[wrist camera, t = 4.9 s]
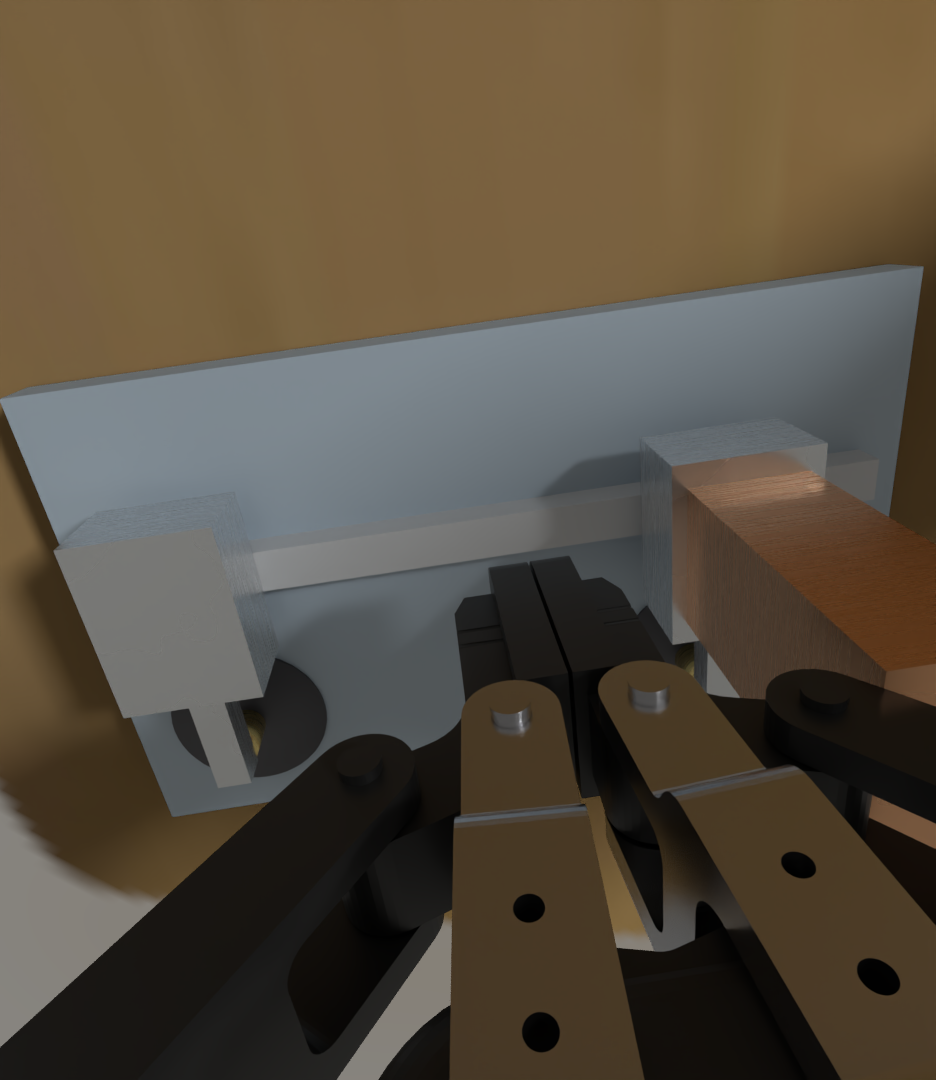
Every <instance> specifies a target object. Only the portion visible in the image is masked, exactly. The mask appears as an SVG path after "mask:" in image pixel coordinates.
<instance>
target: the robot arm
mask: <svg viewBox="0 0 936 1080" xmlns="http://www.w3.org/2000/svg"><path fill="white" fill-rule="evenodd" d="M488 574H489V583H490V591H491V594H487V595H480V596H473V597H466V598H464V599H463V600H462V602H461V604H460V606H459V607H458V609H457V611H456V612H455V614H454V615H455V623H456V631H457V639H458V646H459V655H460V663H461V671H462V679H463V687H464V695H465V704H464V706H463V709H462V714H461V719H460V721H459V722H458V723H457V725H456V726H455V727H454V728H453V729H452V730H451V731H449V732H448V733H447V734H446V735H444V736H443V737H441V738H439V739H438V740H436V741H434V742H432V743H429V744H427V745H425V746H422V747H420V748H417V749H415V750H411V748H410V747H409V746H408V745H407V744H406V743H405V742H403V741H402V740H400V739H398V738H396V737H394V736H390V735H386V734H365V735H359V736H355V737H352V738H349V739H346V740H344V741H342V742H340V743H338V744H336V745H334V746H333V747H331V748H329V749H328V750H327V751H326V752H324V753H323V754H322V755H321V756H320V757H319V758H318V759H317V760H315V761H314V762H313V763H312V764H311V765H310V766H309V767H308V768H307V769H306V770H304V771H303V772H302V773H301V774H300V775H299V776H298V777H297V778H296V779H295V780H293V781H292V782H291V783H290V784H289V785H288V786H287V787H286V788H285V789H284V790H282V791H281V792H280V793H279V794H278V795H277V796H276V797H275V798H274V799H273V800H271V801H270V802H269V803H268V804H267V805H266V806H265V807H264V808H263V809H262V810H261V811H259V812H258V813H257V814H256V815H255V816H254V817H253V818H252V819H251V820H250V821H248V822H247V823H246V824H245V825H244V826H243V827H242V828H241V829H240V830H239V831H237V832H236V833H235V834H234V835H233V836H232V837H231V838H230V839H229V840H228V841H226V842H225V843H224V844H223V845H222V846H221V847H220V848H219V849H218V850H217V851H215V852H214V853H213V854H212V855H211V856H210V857H209V858H208V859H207V860H206V861H204V862H203V863H202V864H201V865H200V866H199V867H198V868H197V869H196V870H195V871H194V872H192V873H191V874H190V875H189V876H188V877H187V878H186V879H185V880H184V881H183V882H181V883H180V884H179V885H178V886H177V887H176V888H175V889H174V890H173V891H172V892H170V893H169V894H168V895H167V896H166V897H165V898H164V899H163V900H162V901H161V902H159V903H158V904H157V905H156V906H155V907H154V908H153V909H152V910H151V911H150V912H148V913H147V914H146V915H145V916H144V917H143V918H142V919H141V920H140V921H139V922H137V923H136V924H135V925H134V926H133V927H132V928H131V929H130V930H129V931H128V932H127V933H125V934H124V935H123V936H122V937H121V938H120V939H119V940H118V941H117V942H116V943H114V944H113V945H112V946H111V947H110V948H109V949H108V950H107V951H106V952H105V953H103V955H101V956H100V957H99V958H98V959H97V960H96V961H95V962H94V963H92V964H91V965H90V966H89V967H88V968H87V969H86V970H85V971H84V972H83V973H81V974H80V975H79V976H78V977H77V978H76V979H75V980H74V981H73V982H72V983H70V984H69V985H68V986H67V987H66V988H65V989H64V990H63V991H62V992H61V993H60V994H58V995H57V996H56V997H55V998H54V999H53V1000H52V1001H51V1002H50V1003H49V1004H47V1005H46V1006H45V1007H44V1008H43V1009H42V1010H41V1011H40V1012H39V1013H38V1014H36V1016H34V1017H33V1018H32V1019H31V1020H30V1021H29V1022H28V1023H27V1024H26V1025H24V1026H23V1027H22V1028H21V1029H20V1030H19V1031H18V1032H17V1033H16V1034H14V1035H13V1036H12V1037H11V1038H10V1039H9V1040H8V1041H7V1042H6V1043H5V1044H3V1045H2V1046H1V1048H0V1080H337V1078H338V1077H339V1075H340V1074H341V1072H342V1071H343V1070H344V1068H345V1067H346V1065H347V1064H348V1062H349V1061H350V1059H351V1058H352V1057H353V1055H354V1054H355V1052H356V1051H357V1049H358V1048H359V1047H360V1045H361V1044H362V1042H363V1041H364V1039H365V1038H366V1036H367V1035H368V1034H369V1032H370V1031H371V1029H372V1028H373V1027H374V1025H375V1024H376V1022H377V1021H378V1019H379V1018H380V1016H381V1015H382V1014H383V1012H384V1011H385V1009H386V1008H387V1006H388V1005H389V1004H390V1002H391V1000H392V999H393V998H394V996H395V995H396V994H397V992H398V991H399V989H400V988H401V986H402V985H403V983H404V982H405V981H406V979H407V978H408V976H409V975H410V973H411V972H412V971H413V969H414V968H415V966H416V965H417V963H418V962H419V961H420V959H421V958H422V956H423V955H424V953H425V952H426V950H427V949H428V947H429V946H430V945H431V943H432V942H433V941H434V939H435V938H436V936H437V934H438V933H439V931H440V929H441V926H442V923H443V919H444V913H446V912H448V911H450V910H452V954H451V1005H450V1006H448V1007H446V1008H445V1009H443V1010H442V1011H441V1012H439V1013H438V1014H437V1015H436V1016H434V1017H433V1018H432V1019H431V1020H429V1021H428V1022H427V1023H426V1024H425V1025H423V1026H422V1027H421V1028H420V1029H419V1030H418V1031H417V1032H416V1033H415V1034H414V1035H413V1036H412V1037H411V1038H410V1040H408V1041H407V1042H406V1043H405V1045H404V1046H403V1047H402V1048H401V1049H400V1051H399V1052H398V1053H397V1055H396V1056H395V1057H394V1058H393V1060H392V1061H391V1062H390V1063H389V1065H388V1066H387V1068H386V1069H385V1070H384V1072H383V1074H382V1075H381V1077H380V1078H379V1080H936V849H935V848H933V847H930V846H928V845H926V844H924V843H922V842H920V841H918V840H916V839H914V838H912V837H909V836H907V835H905V834H903V833H901V832H899V831H897V830H895V829H893V828H890V827H888V826H886V825H884V824H882V823H880V822H878V821H876V820H874V819H871V818H869V813H870V807H871V801H872V795H873V796H876V797H878V798H880V799H882V800H884V801H887V802H889V803H891V804H893V805H896V806H898V807H900V808H902V809H904V810H907V811H909V812H911V813H913V814H915V815H918V816H920V817H922V818H924V819H926V820H929V821H931V822H933V823H935V824H936V706H933V705H930V704H927V703H925V702H922V701H919V700H916V699H913V698H910V697H907V696H904V695H902V694H899V693H896V692H893V691H890V690H887V689H884V688H881V687H879V686H876V685H873V684H870V683H867V682H864V681H861V680H858V679H856V678H853V677H850V676H847V675H844V674H841V673H837V672H833V671H828V670H821V669H798V670H792V671H788V672H785V673H782V674H780V675H778V676H776V677H775V678H774V679H773V680H771V682H770V683H769V684H768V686H767V689H766V696H765V699H751V698H735V697H724V696H717V695H712V694H708V693H706V692H705V691H704V689H703V688H702V687H701V686H700V684H699V683H698V682H697V680H696V679H695V678H694V677H693V676H692V675H691V674H689V673H688V672H687V671H685V670H683V669H681V668H680V667H677V666H675V665H672V664H669V663H665V661H664V659H663V658H662V656H661V654H660V653H659V651H658V649H657V648H656V646H655V644H654V643H653V641H652V639H651V638H650V636H649V634H648V633H647V631H646V629H645V628H644V626H643V624H642V623H641V621H639V618H638V616H637V614H636V613H635V611H634V609H633V608H631V604H630V603H629V601H628V599H627V598H626V596H625V594H624V593H623V591H622V589H620V588H619V587H617V586H616V585H614V584H612V583H611V582H609V581H607V580H606V579H604V578H602V577H600V578H593V579H586V580H581V578H580V576H579V574H578V572H577V570H576V568H575V566H574V564H573V562H572V560H571V558H570V556H562V557H555V558H549V559H542V560H535V561H530V562H529V565H528V563H527V562H523V563H516V564H509V565H502V566H496V567H489V568H488ZM576 781H577V783H576ZM577 784H578V787H579V791H580V794H581V797H582V798H588V797H594V796H600V797H601V800H602V803H603V806H604V809H605V823H606V837H607V840H608V844H609V846H610V848H611V851H612V853H613V855H614V858H615V860H616V862H617V865H618V867H619V869H620V872H621V874H622V876H623V879H624V881H625V883H626V886H627V888H628V890H629V893H630V895H631V897H632V900H633V902H634V904H635V907H636V909H637V911H638V914H639V916H640V918H641V921H642V923H643V925H644V928H645V930H646V932H647V935H648V937H649V939H650V942H651V944H652V946H653V949H654V951H645V950H633V949H622V948H616V943H615V938H614V933H613V929H612V924H611V919H610V914H609V910H608V905H607V900H606V896H605V891H604V886H603V881H602V877H601V872H600V867H599V863H598V858H597V853H596V848H595V844H594V839H593V834H592V830H591V825H590V820H589V816H588V812H587V808H586V806H585V804H581V802H580V798H579V793H578V788H577Z"/></svg>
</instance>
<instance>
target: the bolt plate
mask: <svg viewBox="0 0 936 1080" xmlns="http://www.w3.org/2000/svg"><path fill="white" fill-rule="evenodd" d="M923 268H924V267H923V266H909V265H895V264H886V265H879V266H872V267H865V268H858V269H851V270H844V271H837V272H830V273H823V274H816V275H809V276H802V277H795V278H788V279H781V280H774V281H767V282H760V283H753V284H746V285H739V286H732V287H725V288H718V289H711V290H704V291H697V292H690V293H683V294H676V295H669V296H662V297H655V298H648V299H641V300H634V301H627V302H620V303H613V304H606V305H599V306H592V307H585V308H578V309H572V310H565V311H558V312H551V313H544V314H537V315H530V316H523V317H516V318H509V319H502V320H495V321H488V322H481V323H474V324H467V325H460V326H453V327H446V328H439V329H432V330H425V331H418V332H411V333H404V334H397V335H390V336H383V337H376V338H369V339H362V340H355V341H348V342H341V343H334V344H327V345H320V346H313V347H306V348H299V349H292V350H285V351H278V352H271V353H264V354H257V355H250V356H243V357H236V358H229V359H223V360H216V361H209V362H202V363H195V364H188V365H181V366H174V367H167V368H160V369H153V370H146V371H139V372H132V373H125V374H118V375H111V376H104V377H97V378H90V379H83V380H76V381H69V382H62V383H55V384H48V385H41V386H34V387H27V388H25V389H23V390H20V391H18V392H15V393H13V394H11V395H8V396H6V397H3V398H1V399H0V402H1V405H2V407H3V410H4V412H5V414H6V417H7V419H8V422H9V424H10V427H11V429H12V431H13V434H14V436H15V439H16V441H17V443H18V446H19V448H20V451H21V453H22V455H23V458H24V460H25V463H26V465H27V468H28V470H29V472H30V475H31V477H32V480H33V482H34V484H35V487H36V489H37V492H38V494H39V496H40V499H41V501H42V504H43V506H44V509H45V511H46V513H47V516H48V518H49V521H50V523H51V525H52V528H53V530H54V533H55V535H56V538H57V540H58V542H59V545H60V544H61V543H62V542H63V541H65V540H66V539H67V538H68V537H69V536H70V535H71V534H72V533H73V532H75V531H76V530H77V529H78V528H79V527H80V526H81V525H82V524H83V523H84V522H86V521H87V520H88V519H89V518H90V517H91V516H92V515H93V514H94V513H95V512H97V511H104V510H111V509H118V508H125V507H131V506H138V505H145V504H152V503H158V502H165V501H172V500H179V499H186V498H192V497H199V496H206V495H213V494H219V493H226V492H233V491H235V493H236V497H237V500H238V504H239V507H240V511H241V514H242V518H243V521H244V525H245V528H246V532H247V535H248V539H249V542H250V546H251V549H252V553H253V556H254V560H255V563H256V567H257V570H258V574H259V577H260V581H261V584H262V588H263V591H264V595H265V598H266V602H267V605H268V609H269V612H270V615H271V619H272V622H273V626H274V629H275V633H276V636H277V640H278V643H279V648H278V651H277V654H276V658H275V661H274V664H273V668H272V671H271V674H270V677H269V681H268V684H267V687H266V690H265V694H264V697H259V698H253V699H246V700H240V701H239V703H240V706H241V709H242V710H252V711H255V712H258V713H259V714H261V715H262V716H263V718H264V719H265V722H266V727H265V731H264V734H263V738H262V742H261V745H260V749H259V752H258V756H257V758H258V762H257V766H256V769H255V773H254V776H253V780H252V783H248V784H242V785H236V786H229V787H223V788H218V786H217V783H216V781H215V778H214V775H213V773H212V770H211V767H210V764H209V762H208V759H207V756H206V754H205V751H204V748H203V745H202V743H201V740H200V737H199V734H198V732H197V729H196V726H195V724H194V721H193V718H192V715H191V713H190V710H189V708H188V709H181V710H175V711H168V712H162V713H155V714H149V715H142V716H136V717H131V718H132V721H133V723H134V726H135V728H136V731H137V733H138V735H139V738H140V740H141V743H142V745H143V747H144V750H145V752H146V755H147V757H148V760H149V762H150V764H151V767H152V769H153V772H154V774H155V776H156V779H157V781H158V784H159V786H160V788H161V791H162V793H163V796H164V798H165V801H166V803H167V805H168V808H169V810H170V813H171V815H172V817H176V816H183V815H189V814H195V813H202V812H208V811H214V810H221V809H227V808H233V807H240V806H246V805H252V804H259V803H265V802H270V801H271V800H273V799H274V798H275V797H276V796H277V795H278V794H279V793H280V792H281V791H282V790H284V789H285V788H286V787H287V786H288V785H289V784H290V783H291V782H292V781H293V780H295V779H296V778H297V777H298V776H299V775H300V774H301V773H302V772H303V771H304V770H306V769H307V768H308V767H309V766H310V765H311V764H312V763H313V762H314V761H315V760H317V759H318V758H319V757H320V756H321V755H322V754H323V753H324V752H326V751H327V750H328V749H329V748H331V747H333V746H334V745H336V744H338V743H340V742H342V741H344V740H346V739H349V738H352V737H355V736H359V735H365V734H386V735H390V736H394V737H396V738H398V739H400V740H402V741H403V742H405V743H406V744H407V745H408V746H409V747H410V748H411V750H415V749H417V748H420V747H422V746H425V745H427V744H429V743H432V742H434V741H436V740H438V739H439V738H441V737H443V736H444V735H446V734H447V733H448V732H449V731H451V730H452V729H453V728H454V727H455V726H456V725H457V723H458V722H459V721H460V719H461V714H462V709H463V706H464V704H465V695H464V687H463V679H462V671H461V663H460V655H459V646H458V639H457V631H456V623H455V615H454V614H455V612H456V611H457V609H458V607H459V606H460V604H461V602H462V600H463V599H464V598H466V597H473V596H480V595H487V594H491V591H490V583H489V574H488V568H489V567H496V566H502V565H509V564H516V563H523V562H527V563H528V565H529V562H530V561H535V560H542V559H549V558H555V557H562V556H570V558H571V560H572V562H573V564H574V566H575V568H576V570H577V572H578V574H579V576H580V578H581V580H586V579H593V578H600V577H602V578H604V579H606V580H607V581H609V582H611V583H612V584H614V585H616V586H617V587H619V588H620V589H622V591H623V593H624V594H625V596H626V598H627V599H628V601H629V603H630V604H631V608H633V609H634V611H635V613H636V614H637V616H638V618H639V621H641V623H642V624H643V626H644V628H645V629H646V631H647V633H648V634H649V636H650V638H651V639H652V641H653V643H654V644H655V646H656V648H657V649H658V651H659V653H660V654H661V656H662V658H663V659H664V661H665V663H669V664H672V665H675V666H676V664H675V656H676V654H677V652H678V651H679V649H681V648H682V647H683V646H685V645H687V644H691V643H694V642H687V643H681V644H674V645H672V643H671V642H670V640H669V638H668V637H667V635H666V634H665V632H664V631H663V629H662V628H661V626H660V624H659V623H658V621H657V620H656V618H655V617H654V615H653V614H652V612H651V610H650V609H649V607H648V606H647V604H646V603H645V601H644V600H643V573H642V531H641V489H640V447H639V437H645V436H652V435H659V434H665V433H672V432H679V431H686V430H693V429H699V428H706V427H713V426H720V425H726V424H733V423H740V422H747V421H753V420H760V419H767V418H774V417H777V418H779V419H781V420H783V421H785V422H787V423H789V424H791V425H793V426H795V427H797V428H799V429H801V430H803V431H805V432H807V433H809V434H811V435H813V436H815V437H817V438H819V439H821V440H823V441H825V442H827V443H828V449H827V460H826V470H825V479H826V480H827V481H829V482H831V483H832V484H834V485H836V486H837V487H839V488H841V489H842V490H844V491H846V492H848V493H849V494H851V495H853V496H854V497H856V498H858V499H859V500H861V501H863V502H864V503H866V504H868V505H869V506H871V507H873V508H874V509H876V510H878V511H880V512H881V513H883V514H885V515H886V516H888V517H889V512H890V505H891V498H892V491H893V483H894V476H895V469H896V462H897V455H898V448H899V440H900V433H901V426H902V419H903V412H904V404H905V397H906V390H907V383H908V376H909V369H910V361H911V354H912V347H913V340H914V333H915V325H916V318H917V311H918V304H919V297H920V290H921V282H922V275H923Z"/></svg>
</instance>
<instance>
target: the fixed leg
mask: <svg viewBox="0 0 936 1080" xmlns="http://www.w3.org/2000/svg"><path fill="white" fill-rule="evenodd" d="M54 554H55V556H56V559H57V561H58V563H59V566H60V568H61V570H62V573H63V575H64V578H65V580H66V582H67V585H68V587H69V589H70V592H71V594H72V597H73V599H74V601H75V604H76V606H77V608H78V611H79V613H80V616H81V618H82V620H83V623H84V625H85V628H86V630H87V632H88V635H89V637H90V639H91V642H92V644H93V647H94V649H95V651H96V654H97V656H98V658H99V661H100V663H101V666H102V668H103V670H104V673H105V675H106V677H107V680H108V682H109V685H110V687H111V689H112V692H113V694H114V697H115V699H116V701H117V704H118V706H119V708H120V711H121V713H122V716H123V718H129V717H136V716H142V715H149V714H155V713H162V712H168V711H175V710H181V709H188V708H189V710H190V713H191V715H192V718H193V721H194V724H195V726H196V729H197V732H198V734H199V737H200V740H201V743H202V745H203V748H204V751H205V754H206V756H207V759H208V762H209V764H210V767H211V770H212V773H213V775H214V778H215V781H216V783H217V786H218V788H223V787H229V786H236V785H242V784H248V783H252V780H253V776H254V773H255V769H256V766H257V762H258V758H257V756H258V752H259V749H260V745H261V742H262V738H263V734H264V731H265V727H266V722H265V719H264V718H263V716H262V715H261V714H259V713H258V712H255V711H252V710H242V709H241V706H240V703H239V701H240V700H246V699H253V698H259V697H264V694H265V690H266V687H267V684H268V681H269V677H270V674H271V671H272V668H273V664H274V661H275V658H276V654H277V651H278V648H279V643H278V640H277V636H276V633H275V629H274V626H273V622H272V619H271V615H270V612H269V609H268V605H267V602H266V598H265V595H264V591H263V588H262V584H261V581H260V577H259V574H258V570H257V567H256V563H255V560H254V556H253V553H252V549H251V546H250V542H249V539H248V535H247V532H246V528H245V525H244V521H243V518H242V514H241V511H240V507H239V504H238V500H237V497H236V493H235V491H233V492H226V493H219V494H213V495H206V496H199V497H192V498H186V499H179V500H172V501H165V502H158V503H152V504H145V505H138V506H131V507H125V508H118V509H111V510H104V511H97V512H95V513H94V514H93V515H92V516H91V517H90V518H89V519H88V520H87V521H86V522H84V523H83V524H82V525H81V526H80V527H79V528H78V529H77V530H76V531H75V532H73V533H72V534H71V535H70V536H69V537H68V538H67V539H66V540H65V541H63V542H62V543H61V544H60V545H59V546H58V547H57V548H56V549H55V550H54Z"/></svg>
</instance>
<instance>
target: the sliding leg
mask: <svg viewBox="0 0 936 1080" xmlns="http://www.w3.org/2000/svg"><path fill="white" fill-rule="evenodd" d="M639 447H640V489H641V531H642V573H643V600H644V601H645V603H646V604H647V606H648V607H649V609H650V610H651V612H652V614H653V615H654V617H655V618H656V620H657V621H658V623H659V624H660V626H661V628H662V629H663V631H664V632H665V634H666V635H667V637H668V638H669V640H670V642H671V643H672V645H674V644H681V643H687V642H694V643H691V644H687V645H685V646H683V647H682V648H681V649H679V651H678V652H677V654H676V656H675V664H676V666H677V667H680V668H681V669H683V670H685V671H687V672H688V673H689V674H691V675H692V676H693V677H694V678H695V679H696V680H697V682H698V683H699V684H700V686H701V687H702V688H703V689H704V691H705V692H706V693H708V694H712V695H717V696H724V697H735V698H751V699H765V696H766V689H767V686H768V684H769V683H770V682H771V680H773V679H774V678H775V677H776V676H778V675H780V674H782V673H785V672H788V671H792V670H798V669H821V670H828V671H833V672H837V673H841V674H844V675H847V676H850V677H853V678H856V679H858V680H861V681H864V682H867V683H870V684H873V685H876V686H879V687H881V688H884V689H887V690H890V691H893V692H896V693H899V694H902V695H904V696H907V697H910V698H913V699H916V700H919V701H922V702H925V703H927V704H930V705H933V706H936V545H935V544H933V543H932V542H930V541H928V540H927V539H925V538H923V537H922V536H920V535H918V534H917V533H915V532H913V531H912V530H910V529H908V528H906V527H905V526H903V525H901V524H900V523H898V522H896V521H895V520H893V519H891V518H890V517H888V516H886V515H885V514H883V513H881V512H880V511H878V510H876V509H874V508H873V507H871V506H869V505H868V504H866V503H864V502H863V501H861V500H859V499H858V498H856V497H854V496H853V495H851V494H849V493H848V492H846V491H844V490H842V489H841V488H839V487H837V486H836V485H834V484H832V483H831V482H829V481H827V480H826V479H825V470H826V460H827V449H828V443H827V442H825V441H823V440H821V439H819V438H817V437H815V436H813V435H811V434H809V433H807V432H805V431H803V430H801V429H799V428H797V427H795V426H793V425H791V424H789V423H787V422H785V421H783V420H781V419H779V418H777V417H774V418H767V419H760V420H753V421H747V422H740V423H733V424H726V425H720V426H713V427H706V428H699V429H693V430H686V431H679V432H672V433H665V434H659V435H652V436H645V437H639ZM869 818H871V819H874V820H876V821H878V822H880V823H882V824H884V825H886V826H888V827H890V828H893V829H895V830H897V831H899V832H901V833H903V834H905V835H907V836H909V837H912V838H914V839H916V840H918V841H920V842H922V843H924V844H926V845H928V846H930V847H933V848H935V849H936V824H935V823H933V822H931V821H929V820H926V819H924V818H922V817H920V816H918V815H915V814H913V813H911V812H909V811H907V810H904V809H902V808H900V807H898V806H896V805H893V804H891V803H889V802H887V801H884V800H882V799H880V798H878V797H876V796H873V795H872V801H871V807H870V813H869Z"/></svg>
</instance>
